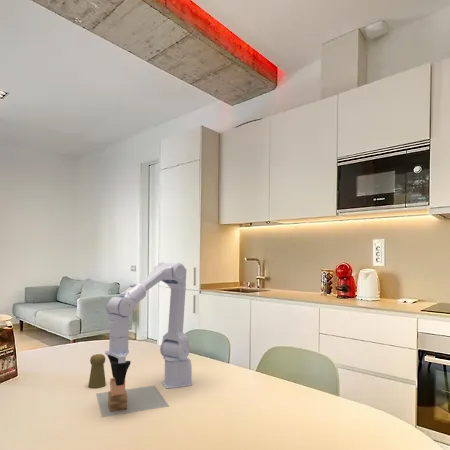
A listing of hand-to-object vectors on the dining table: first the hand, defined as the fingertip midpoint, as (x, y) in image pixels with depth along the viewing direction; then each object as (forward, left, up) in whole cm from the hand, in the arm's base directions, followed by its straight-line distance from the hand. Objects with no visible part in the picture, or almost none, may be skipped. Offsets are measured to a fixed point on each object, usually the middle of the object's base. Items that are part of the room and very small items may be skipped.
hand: (118, 381), depth 118 cm
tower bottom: (0, 0, -8) cm, 8 cm away
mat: (-5, -5, -8) cm, 11 cm away
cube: (0, 0, -4) cm, 4 cm away
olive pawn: (+4, -23, -8) cm, 25 cm away
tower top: (0, 0, -6) cm, 6 cm away
